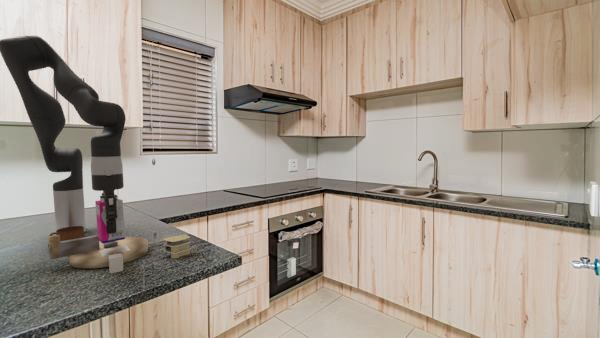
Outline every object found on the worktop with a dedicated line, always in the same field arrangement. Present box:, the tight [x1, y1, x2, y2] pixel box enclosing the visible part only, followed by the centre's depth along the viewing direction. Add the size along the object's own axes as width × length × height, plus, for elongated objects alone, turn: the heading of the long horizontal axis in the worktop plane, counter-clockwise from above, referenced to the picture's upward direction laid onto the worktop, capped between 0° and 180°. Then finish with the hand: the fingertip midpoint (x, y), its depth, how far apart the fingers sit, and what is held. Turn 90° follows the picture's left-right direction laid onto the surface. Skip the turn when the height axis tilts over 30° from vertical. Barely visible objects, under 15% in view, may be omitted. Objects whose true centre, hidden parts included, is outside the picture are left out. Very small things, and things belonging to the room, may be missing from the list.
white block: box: [108, 253, 124, 274], centre depth 80 cm, size 5×3×4 cm, turn 37°
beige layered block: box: [162, 234, 192, 259], centre depth 90 cm, size 10×9×6 cm
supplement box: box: [95, 198, 126, 244], centre depth 85 cm, size 6×6×12 cm
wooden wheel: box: [48, 234, 149, 269], centre depth 88 cm, size 24×20×9 cm
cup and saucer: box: [47, 226, 90, 248], centre depth 99 cm, size 12×12×6 cm
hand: (110, 230), depth 85 cm, fingers closed on supplement box, 6 cm apart
